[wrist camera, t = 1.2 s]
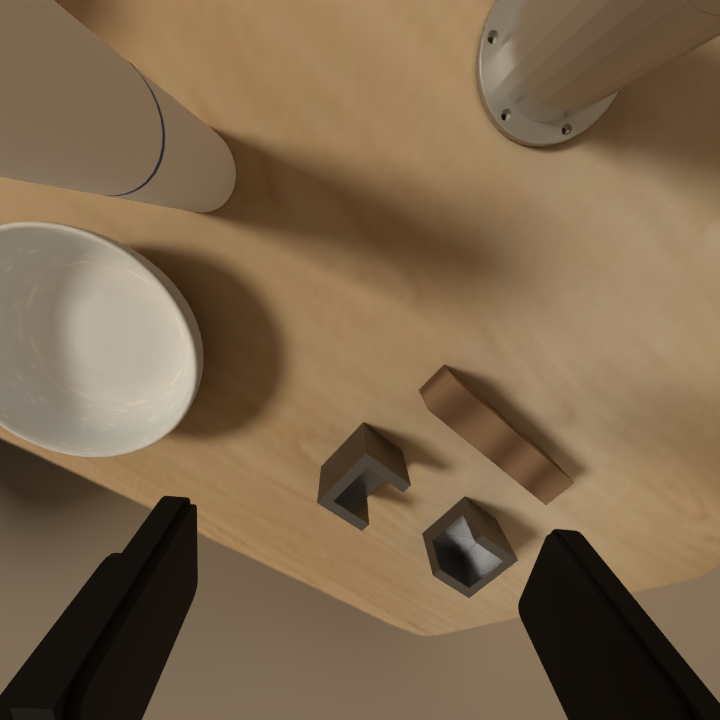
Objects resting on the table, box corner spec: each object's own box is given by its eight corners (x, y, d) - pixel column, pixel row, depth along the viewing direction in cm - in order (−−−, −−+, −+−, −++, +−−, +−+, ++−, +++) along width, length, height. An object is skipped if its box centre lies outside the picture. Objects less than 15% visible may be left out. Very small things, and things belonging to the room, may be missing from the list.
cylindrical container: (242, 210, 31) (-79, 120, 8) (165, 214, 31) (-401, 137, 8) (228, 119, 29) (-305, -417, 5) (144, 124, 29) (-781, -403, 5)
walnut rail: (418, 388, 38) (428, 409, 34) (443, 363, 37) (457, 381, 33) (524, 476, 43) (546, 505, 38) (548, 455, 42) (574, 482, 37)
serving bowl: (207, 440, 39) (179, 479, 33) (12, 394, 37) (-60, 428, 30) (240, 264, 33) (214, 269, 26) (6, 192, 30) (-87, 180, 24)
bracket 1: (321, 466, 41) (317, 502, 35) (363, 422, 39) (365, 453, 34) (360, 492, 43) (361, 530, 37) (402, 450, 41) (411, 484, 35)
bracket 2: (496, 519, 45) (517, 560, 39) (454, 554, 47) (468, 598, 41) (464, 496, 43) (482, 534, 38) (422, 533, 45) (433, 575, 40)
